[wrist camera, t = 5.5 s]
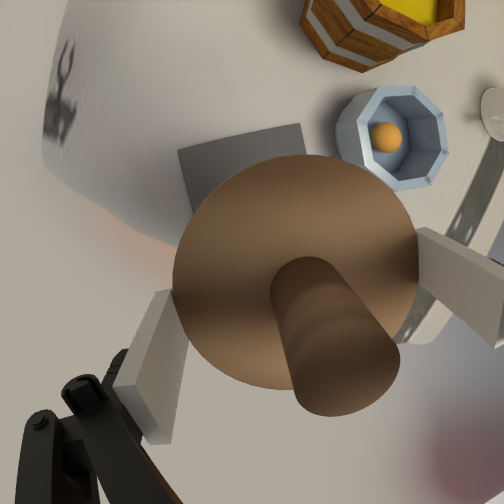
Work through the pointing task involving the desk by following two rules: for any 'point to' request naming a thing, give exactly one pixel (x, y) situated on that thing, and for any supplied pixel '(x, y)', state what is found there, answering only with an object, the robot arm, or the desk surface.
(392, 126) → the ball
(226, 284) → the lid
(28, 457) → the robot arm
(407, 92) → the bowl
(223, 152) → the mat
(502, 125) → the mug
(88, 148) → the desk surface
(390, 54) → the mug
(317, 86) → the desk surface
